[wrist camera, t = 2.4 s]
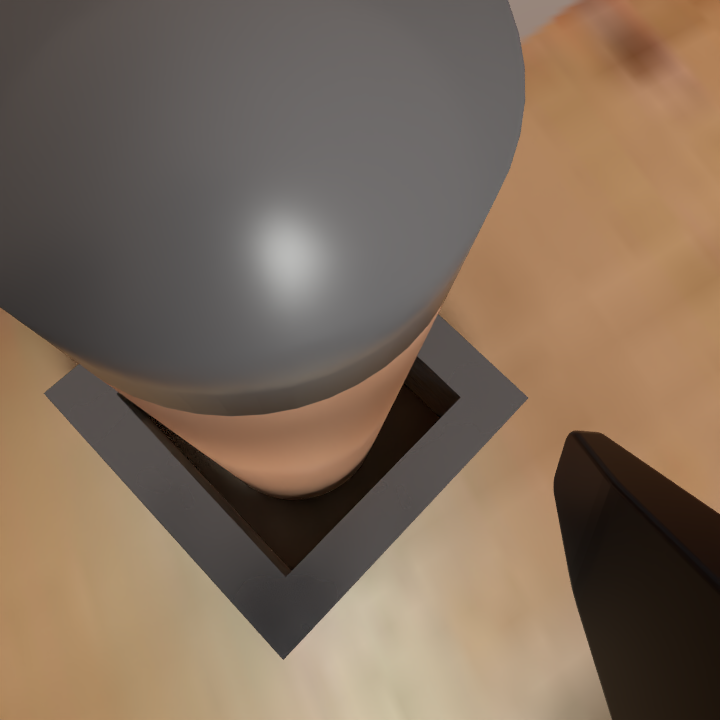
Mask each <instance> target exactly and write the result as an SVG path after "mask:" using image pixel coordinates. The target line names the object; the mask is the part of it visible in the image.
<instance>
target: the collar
mask: <svg viewBox="0 0 720 720" xmlns="http://www.w3.org/2000/svg"><path fill="white" fill-rule="evenodd" d="M404 383H405V384H406V385H407V386H408V387H409V388H410V389H411V390H412V391H413V392H414V393H415V394H416V395H417V396H418V397H419V398H420V399H421V400H422V401H423V402H424V403H425V404H426V405H427V406H428V407H429V408H430V409H432V410H433V411H434V412H435V413H436V414H437V415H438V416H439V417H440V419H439V420H438V421H437V422H436V423H435V424H434V425H433V426H432V427H431V429H430V430H429V431H428V432H427V433H426V434H425V435H424V436H423V437H422V438H421V439H420V440H419V441H418V442H417V443H416V444H415V445H414V446H413V447H412V448H411V449H410V450H409V451H408V452H407V453H406V454H405V455H404V456H403V457H402V458H401V459H400V460H399V461H398V462H397V463H396V464H395V465H394V466H393V468H392V469H391V470H390V471H389V472H388V473H387V474H386V475H385V476H384V477H383V478H382V479H381V480H380V481H379V482H378V483H377V484H376V485H375V486H374V487H373V488H372V489H371V490H370V491H369V492H368V493H367V494H366V495H365V496H364V497H363V498H362V499H361V500H360V501H359V502H358V503H357V504H356V506H355V507H354V508H353V509H352V510H351V511H350V512H349V513H348V514H347V515H346V516H345V517H344V518H343V519H342V520H341V521H340V522H339V523H338V524H337V525H336V526H335V527H334V528H333V529H332V530H331V531H330V532H329V533H328V534H327V535H326V536H325V537H324V538H323V539H322V540H321V541H320V542H319V544H318V545H317V546H316V547H315V548H314V549H313V550H312V551H311V552H310V553H309V554H308V555H307V556H306V557H305V558H304V559H303V560H302V561H301V562H300V563H299V564H298V565H297V566H296V567H295V568H294V569H293V570H292V571H291V570H290V569H289V567H288V566H287V565H286V564H285V563H284V562H283V561H282V560H281V559H280V558H279V557H278V556H277V555H276V553H275V552H274V551H273V550H272V549H271V548H270V547H269V546H268V545H267V544H266V543H265V542H264V541H263V540H262V538H261V537H260V536H259V535H258V534H257V533H256V532H255V531H254V530H253V529H252V528H251V527H250V526H249V524H248V523H247V522H246V521H245V520H244V519H243V518H242V517H241V516H240V515H239V514H238V513H237V512H236V510H235V509H234V508H233V507H232V506H231V505H230V504H229V503H228V502H227V501H226V500H225V499H224V498H223V496H222V495H221V494H220V493H219V492H218V491H217V490H216V489H215V488H214V487H213V486H212V485H211V484H210V482H209V481H208V480H207V479H206V478H205V477H204V476H203V475H202V474H201V473H200V472H199V471H198V470H197V469H196V467H195V466H194V465H193V464H192V463H191V462H190V461H189V460H188V459H187V458H186V457H185V456H184V455H183V453H182V452H181V451H180V450H179V449H178V448H177V447H176V446H175V445H174V444H173V443H172V442H171V441H170V439H169V438H168V437H167V436H166V435H165V434H164V433H163V432H162V431H161V430H160V429H159V428H158V427H157V425H156V424H155V423H154V422H153V421H152V420H151V419H150V418H149V417H148V416H149V414H148V413H147V412H145V411H144V410H143V409H141V408H140V407H138V406H137V405H136V404H134V403H133V402H131V401H130V400H129V399H127V398H126V397H124V396H123V395H122V394H120V393H119V392H117V391H116V390H115V389H113V388H112V387H111V386H109V385H108V384H106V383H105V382H104V381H102V380H101V379H99V378H98V377H97V376H95V375H94V374H92V373H91V372H90V371H88V370H87V369H85V368H84V367H83V366H81V365H80V364H79V365H77V366H76V367H75V368H74V369H73V370H71V371H70V372H69V373H68V374H66V375H65V376H64V377H63V378H62V379H60V380H59V381H58V382H57V383H56V384H54V385H53V386H52V387H51V388H50V389H48V390H47V391H46V392H45V393H44V394H45V395H46V396H47V397H48V399H49V400H50V401H51V402H52V403H53V404H54V405H55V406H56V407H57V409H58V410H59V411H60V412H61V413H62V414H63V415H64V416H65V417H66V419H67V420H68V421H69V422H70V423H71V424H72V425H73V426H74V427H75V429H76V430H77V431H78V432H79V433H80V434H81V435H82V436H83V437H84V439H85V440H86V441H87V442H88V443H89V444H90V445H91V446H92V448H93V449H94V450H95V451H96V452H97V453H98V454H99V455H100V456H101V458H102V459H103V460H104V461H105V462H106V463H107V464H108V465H109V466H110V468H111V469H112V470H113V471H114V472H115V473H116V474H117V475H118V476H119V478H120V479H121V480H122V481H123V482H124V483H125V484H126V485H127V486H128V488H129V489H130V490H131V491H132V492H133V493H134V494H135V495H136V496H137V498H138V499H139V500H140V501H141V502H142V503H143V504H144V505H145V506H146V508H147V509H148V510H149V511H150V512H151V513H152V514H153V515H154V516H155V518H156V519H157V520H158V521H159V522H160V523H161V524H162V525H163V526H164V528H165V529H166V530H167V531H168V532H169V533H170V534H171V535H172V537H173V538H174V539H175V540H176V541H177V542H178V543H179V544H180V545H181V547H182V548H183V549H184V550H185V551H186V552H187V553H188V554H189V555H190V557H191V558H192V559H193V560H194V561H195V562H196V563H197V564H198V565H199V567H200V568H201V569H202V570H203V571H204V572H205V573H206V574H207V575H208V577H209V578H210V579H211V580H212V581H213V582H214V583H215V584H216V585H217V587H218V588H219V589H220V590H221V591H222V592H223V593H224V594H225V595H226V597H227V598H228V599H229V600H230V601H231V602H232V603H233V604H234V605H235V607H236V608H237V609H238V610H239V611H240V612H241V613H242V614H243V615H244V617H245V618H246V619H247V620H248V621H249V622H250V623H251V624H252V626H253V627H254V628H255V629H256V630H257V631H258V632H259V633H260V634H261V636H262V637H263V638H264V639H265V640H266V641H267V642H268V643H269V644H270V646H271V647H272V648H273V649H274V650H275V651H276V652H277V653H278V654H279V656H280V657H281V658H282V659H283V660H284V659H285V658H286V656H287V655H288V654H289V653H290V652H291V651H292V650H293V649H294V648H295V647H296V646H297V645H298V644H299V643H300V642H301V640H302V639H303V638H304V637H305V636H306V635H307V634H308V633H309V632H310V631H311V630H312V629H313V628H314V627H315V625H316V624H317V623H318V622H319V621H320V620H321V619H322V618H323V617H324V616H325V615H326V614H327V613H328V612H329V611H330V609H331V608H332V607H333V606H334V605H335V604H336V603H337V602H338V601H339V600H340V599H341V598H342V597H343V596H344V595H345V593H346V592H347V591H348V590H349V589H350V588H351V587H352V586H353V585H354V584H355V583H356V582H357V581H358V580H359V578H360V577H361V576H362V575H363V574H364V573H365V572H366V571H367V570H368V569H369V568H370V567H371V566H372V565H373V564H374V562H375V561H376V560H377V559H378V558H379V557H380V556H381V555H382V554H383V553H384V552H385V551H386V550H387V549H388V547H389V546H390V545H391V544H392V543H393V542H394V541H395V540H396V539H397V538H398V537H399V536H400V535H401V534H402V533H403V531H404V530H405V529H406V528H407V527H408V526H409V525H410V524H411V523H412V522H413V521H414V520H415V519H416V518H417V517H418V515H419V514H420V513H421V512H422V511H423V510H424V509H425V508H426V507H427V506H428V505H429V504H430V503H431V502H432V500H433V499H434V498H435V497H436V496H437V495H438V494H439V493H440V492H441V491H442V490H443V489H444V488H445V487H446V486H447V484H448V483H449V482H450V481H451V480H452V479H453V478H454V477H455V476H456V475H457V474H458V473H459V472H460V471H461V470H462V468H463V467H464V466H465V465H466V464H467V463H468V462H469V461H470V460H471V459H472V458H473V457H474V456H475V455H476V453H477V452H478V451H479V450H480V449H481V448H482V447H483V446H484V445H485V444H486V443H487V442H488V441H489V440H490V439H491V437H492V436H493V435H494V434H495V433H496V432H497V431H498V430H499V429H500V428H501V427H502V426H503V425H504V424H505V422H506V421H507V420H508V419H509V418H510V417H511V416H512V415H513V414H514V413H515V412H516V411H517V410H518V409H519V408H520V406H521V405H522V404H523V403H524V402H525V401H526V400H527V399H528V397H527V396H526V395H525V394H524V393H523V392H521V391H520V390H519V389H518V388H517V387H516V386H515V385H514V384H513V383H512V382H511V381H510V380H509V379H507V378H506V377H505V376H504V375H503V374H502V373H501V372H500V371H499V370H498V369H497V368H496V367H495V366H493V365H492V364H491V363H490V362H489V361H488V360H487V359H486V358H485V357H484V356H483V355H482V354H481V353H479V352H478V351H477V350H476V349H475V348H474V347H473V346H472V345H471V344H470V343H469V342H468V341H467V340H465V339H464V338H463V337H462V336H461V335H460V334H459V333H458V332H457V331H456V330H455V329H454V328H453V327H451V326H450V325H449V324H448V323H447V322H446V321H445V320H444V319H443V318H442V317H441V316H440V315H439V314H438V315H437V317H436V319H435V321H434V323H433V325H432V327H431V329H430V331H429V333H428V335H427V337H426V339H425V341H424V343H423V345H422V347H421V349H420V351H419V353H418V355H417V357H416V359H415V361H414V363H413V365H412V367H411V369H410V371H409V373H408V375H407V377H406V379H405V381H404Z"/></svg>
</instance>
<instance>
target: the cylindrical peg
mask: <svg viewBox="0 0 720 720" xmlns="http://www.w3.org/2000/svg"><path fill="white" fill-rule="evenodd" d="M524 104H525V66H524V60H523V55H522V49H521V43H520V37H519V33H518V29H517V26H516V23H515V20H514V17H513V14H512V11H511V8H510V5H509V2H508V0H0V307H1V308H2V309H3V310H5V311H6V312H8V313H9V314H10V315H12V316H13V317H15V318H16V319H17V320H19V321H20V322H22V323H23V324H24V325H26V326H27V327H28V328H30V329H31V330H33V331H34V332H35V333H37V334H38V335H40V336H41V337H42V338H44V339H45V340H47V341H48V342H49V343H51V344H52V345H54V346H55V347H56V348H58V349H59V350H60V351H62V352H63V353H65V354H66V355H67V356H69V357H70V358H72V359H73V360H74V361H76V362H77V363H79V364H80V365H81V366H83V367H84V368H85V369H87V370H88V371H90V372H91V373H92V374H94V375H95V376H97V377H98V378H99V379H101V380H102V381H104V382H105V383H106V384H108V385H109V386H111V387H112V388H113V389H115V390H116V391H117V392H119V393H120V394H122V395H123V396H124V397H126V398H127V399H129V400H130V401H131V402H133V403H134V404H136V405H137V406H138V407H140V408H141V409H143V410H144V411H145V412H147V413H148V414H149V415H151V416H152V417H154V418H155V419H156V420H158V421H159V422H161V423H162V424H163V425H165V426H166V427H168V428H169V429H170V430H172V431H173V432H174V433H176V434H177V435H179V436H180V437H181V438H183V439H184V440H186V441H187V442H188V443H190V444H191V445H193V446H194V447H195V448H197V449H198V450H200V451H201V452H202V453H204V454H205V455H206V456H208V457H209V458H211V459H212V460H213V461H215V462H216V463H218V464H219V465H220V466H222V467H223V468H225V469H226V470H227V471H229V472H230V473H231V474H233V475H234V476H236V477H237V478H238V479H240V480H241V481H243V482H244V483H245V484H247V485H248V486H250V487H251V488H253V489H255V490H257V491H259V492H261V493H263V494H265V495H268V496H271V497H275V498H280V499H289V500H299V499H308V498H313V497H317V496H320V495H323V494H326V493H328V492H330V491H332V490H334V489H336V488H337V487H339V486H340V485H342V484H343V483H345V482H346V481H347V480H348V479H349V478H350V477H352V476H353V475H354V474H355V472H356V471H357V470H358V469H359V468H360V466H361V465H362V463H363V462H364V460H365V459H366V457H367V455H368V453H369V451H370V449H371V447H372V445H373V443H374V441H375V439H376V437H377V435H378V433H379V431H380V429H381V427H382V425H383V423H384V421H385V419H386V417H387V415H388V413H389V411H390V409H391V407H392V405H393V403H394V401H395V399H396V397H397V395H398V393H399V391H400V389H401V387H402V385H403V383H404V381H405V379H406V377H407V375H408V373H409V371H410V369H411V367H412V365H413V363H414V361H415V359H416V357H417V355H418V353H419V351H420V349H421V347H422V345H423V343H424V341H425V339H426V337H427V335H428V333H429V331H430V329H431V327H432V325H433V323H434V321H435V319H436V317H437V315H438V313H439V311H440V309H441V307H442V305H443V303H444V301H445V299H446V297H447V295H448V293H449V291H450V289H451V287H452V285H453V283H454V281H455V279H456V277H457V275H458V273H459V271H460V269H461V267H462V265H463V263H464V261H465V259H466V257H467V255H468V253H469V251H470V249H471V247H472V245H473V243H474V241H475V239H476V237H477V235H478V233H479V231H480V229H481V227H482V225H483V223H484V221H485V219H486V217H487V215H488V213H489V211H490V209H491V207H492V205H493V202H494V200H495V198H496V196H497V194H498V192H499V190H500V188H501V186H502V184H503V182H504V180H505V178H506V176H507V174H508V172H509V169H510V166H511V163H512V160H513V156H514V153H515V150H516V147H517V143H518V140H519V137H520V132H521V125H522V118H523V111H524Z"/></svg>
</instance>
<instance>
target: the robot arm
mask: <svg viewBox="0 0 720 720" xmlns="http://www.w3.org/2000/svg"><path fill="white" fill-rule="evenodd" d="M554 496H555V502H556V507H557V513H558V518H559V523H560V529H561V534H562V540H563V545H564V550H565V556H566V561H567V566H568V572H569V577H570V581H571V586H572V591H573V594H574V598H575V601H576V605H577V608H578V612H579V615H580V618H581V621H582V625H583V628H584V631H585V634H586V637H587V641H588V644H589V647H590V650H591V654H592V657H593V660H594V663H595V667H596V670H597V673H598V676H599V679H600V683H601V686H602V689H603V692H604V696H605V699H606V702H607V705H608V709H609V712H610V715H611V718H612V720H720V514H719V513H717V512H716V511H714V510H713V509H711V508H710V507H709V506H707V505H706V504H704V503H703V502H701V501H700V500H698V499H697V498H695V497H694V496H693V495H691V494H690V493H688V492H687V491H685V490H684V489H682V488H681V487H679V486H678V485H676V484H675V483H674V482H672V481H671V480H669V479H668V478H666V477H665V476H663V475H662V474H660V473H659V472H658V471H656V470H655V469H653V468H652V467H650V466H649V465H647V464H646V463H644V462H643V461H642V460H640V459H639V458H637V457H636V456H634V455H633V454H631V453H630V452H628V451H627V450H625V449H624V448H623V447H621V446H620V445H618V444H617V443H615V442H614V441H612V440H611V439H609V438H608V437H607V436H605V435H604V434H602V433H599V432H589V431H572V432H571V433H569V435H568V436H567V438H566V441H565V444H564V447H563V451H562V454H561V457H560V460H559V464H558V467H557V470H556V473H555V477H554Z"/></svg>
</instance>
